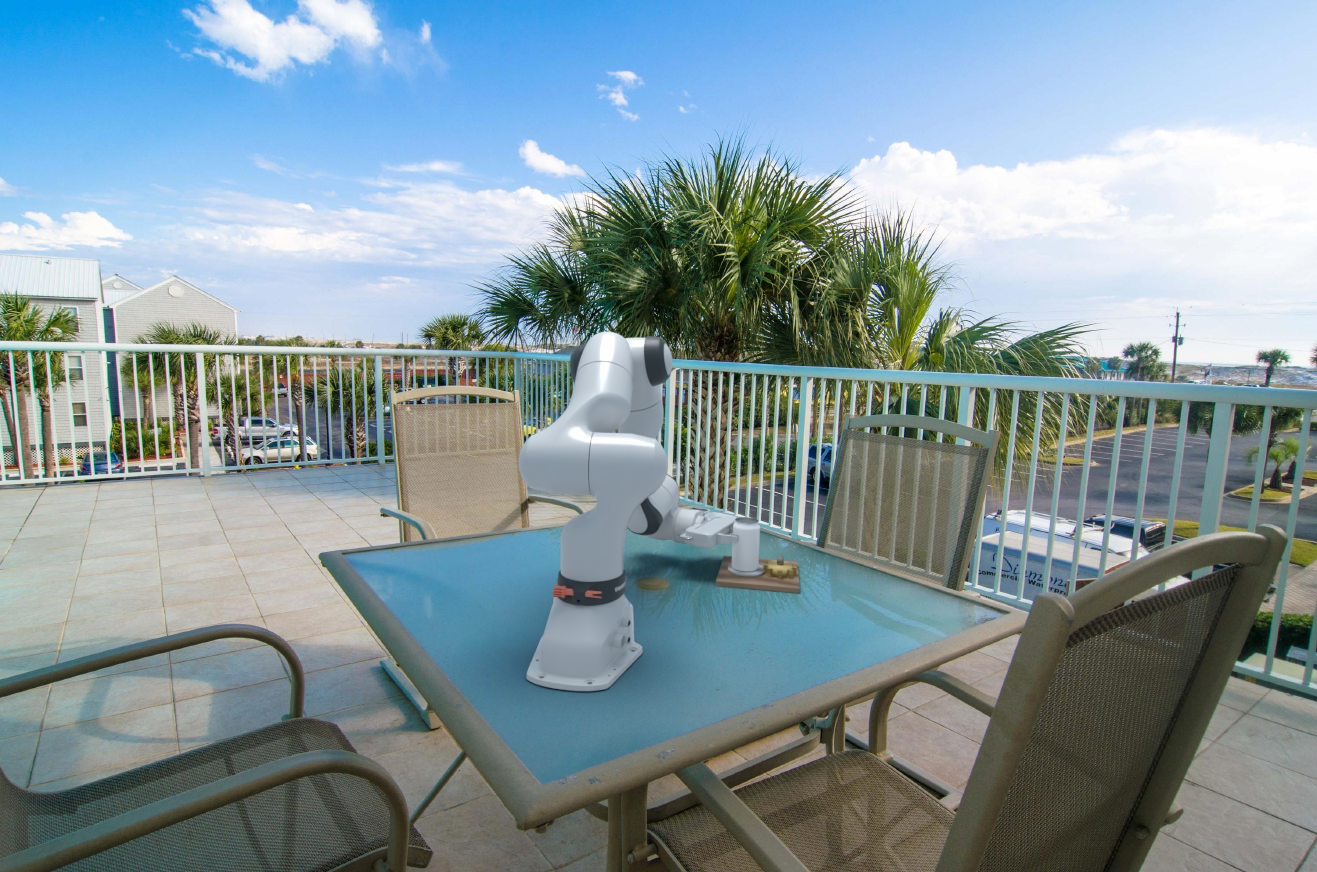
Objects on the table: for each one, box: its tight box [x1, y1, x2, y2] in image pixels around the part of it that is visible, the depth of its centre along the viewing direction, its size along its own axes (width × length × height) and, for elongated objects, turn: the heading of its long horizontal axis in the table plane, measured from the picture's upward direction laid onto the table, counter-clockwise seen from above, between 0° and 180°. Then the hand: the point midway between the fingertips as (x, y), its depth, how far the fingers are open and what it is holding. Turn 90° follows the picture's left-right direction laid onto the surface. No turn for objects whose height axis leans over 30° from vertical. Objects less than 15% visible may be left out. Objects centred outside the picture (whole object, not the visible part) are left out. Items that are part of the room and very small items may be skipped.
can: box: [731, 516, 761, 572], centre depth 156 cm, size 6×6×12 cm
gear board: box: [715, 554, 801, 594], centre depth 157 cm, size 20×19×6 cm
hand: (744, 535), depth 156 cm, fingers open, 8 cm apart
